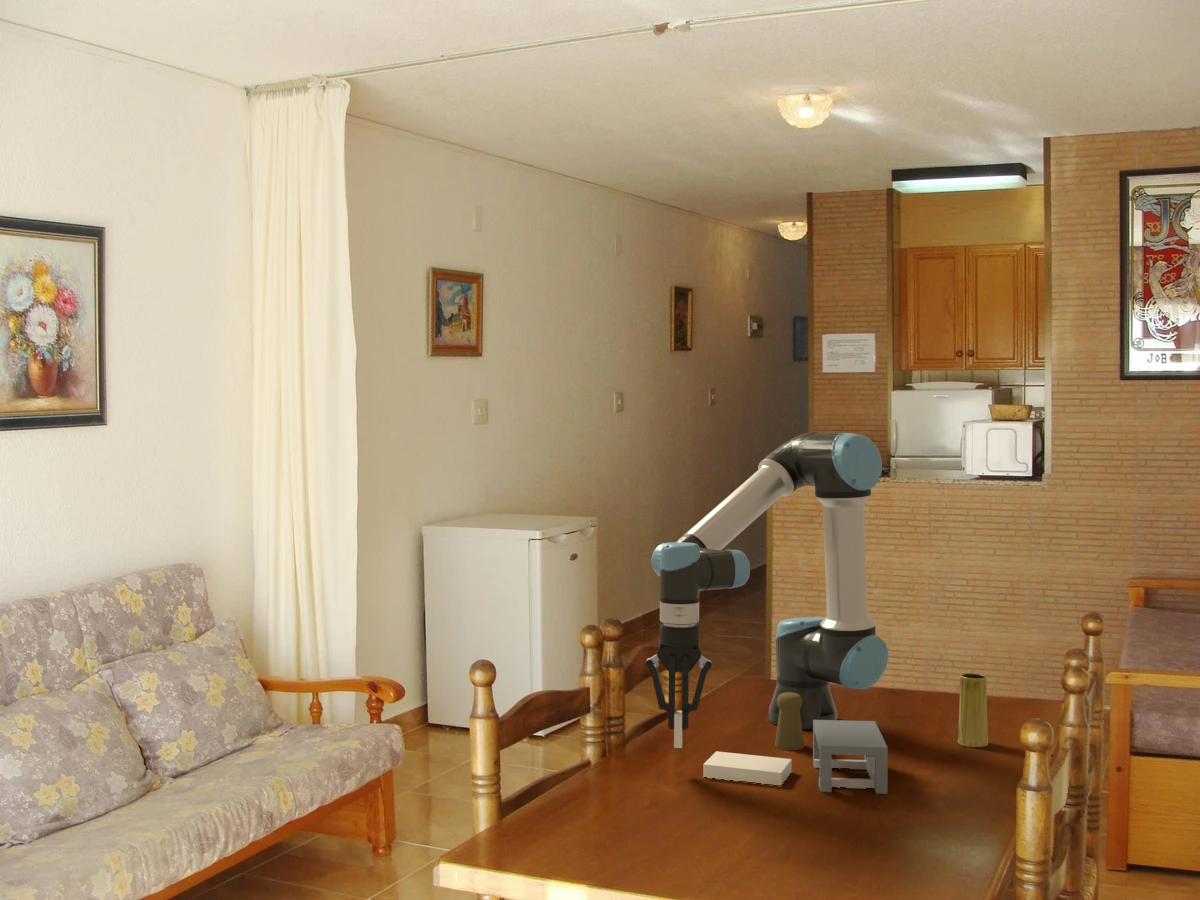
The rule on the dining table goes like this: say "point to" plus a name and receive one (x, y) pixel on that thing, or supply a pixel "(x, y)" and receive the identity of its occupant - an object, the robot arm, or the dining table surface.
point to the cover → (747, 768)
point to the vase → (973, 710)
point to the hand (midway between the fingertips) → (678, 745)
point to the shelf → (850, 753)
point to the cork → (789, 722)
